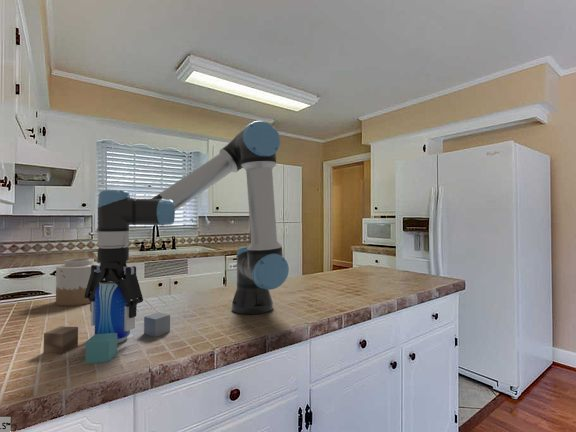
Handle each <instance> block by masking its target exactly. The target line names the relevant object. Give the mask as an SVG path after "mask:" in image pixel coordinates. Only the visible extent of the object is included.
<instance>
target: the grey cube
mask: <svg viewBox="0 0 576 432" xmlns="http://www.w3.org/2000/svg"><path fill="white" fill-rule="evenodd" d="M143 318H144V319H143V334H144V335H147V336H151V337H153V338H156V337H159V336H162V335H165V334H167V333H170V332H171V314H168V313H164V312H159V311H158V312H156V313H152V314H149V315H146V316H143Z"/></svg>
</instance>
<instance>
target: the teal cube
mask: <svg viewBox="0 0 576 432" xmlns="http://www.w3.org/2000/svg"><path fill="white" fill-rule="evenodd" d="M117 353H118V344H117V333H107V334H95V333H94V335H92V336H91V337H90V338H88V339H87V340H86V341H85V364H95V363H96V364H98V363H109V362H111V360H112V359H113V358H114V357H115V356H116V355H117Z"/></svg>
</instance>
